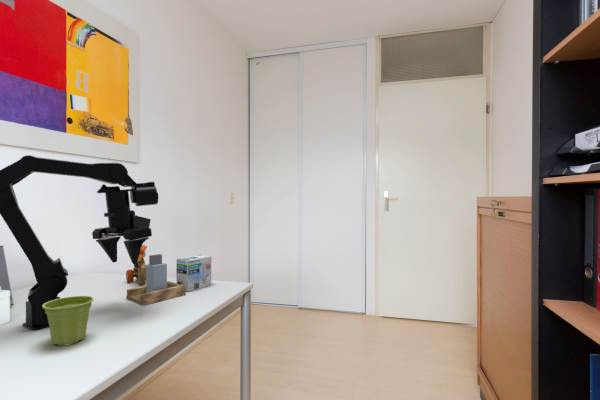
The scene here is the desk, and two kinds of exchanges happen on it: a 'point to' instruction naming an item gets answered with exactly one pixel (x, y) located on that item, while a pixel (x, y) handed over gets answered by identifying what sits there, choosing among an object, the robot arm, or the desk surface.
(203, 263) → the light bulb box
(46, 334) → the desk surface
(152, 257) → the box with grey fin
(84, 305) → the plant pot
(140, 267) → the toy helicopter
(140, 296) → the cradle
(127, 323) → the desk surface
